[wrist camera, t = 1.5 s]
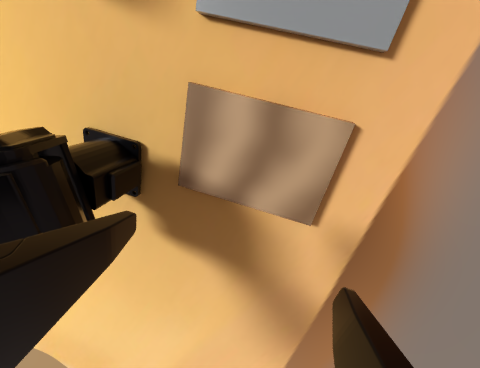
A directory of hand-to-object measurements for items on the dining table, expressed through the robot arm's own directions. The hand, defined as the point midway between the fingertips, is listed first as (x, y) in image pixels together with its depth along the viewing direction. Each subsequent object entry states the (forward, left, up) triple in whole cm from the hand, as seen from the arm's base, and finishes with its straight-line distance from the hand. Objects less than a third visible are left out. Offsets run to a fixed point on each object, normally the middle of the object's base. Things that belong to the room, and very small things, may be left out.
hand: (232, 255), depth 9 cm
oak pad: (-1, 0, -13) cm, 13 cm away
